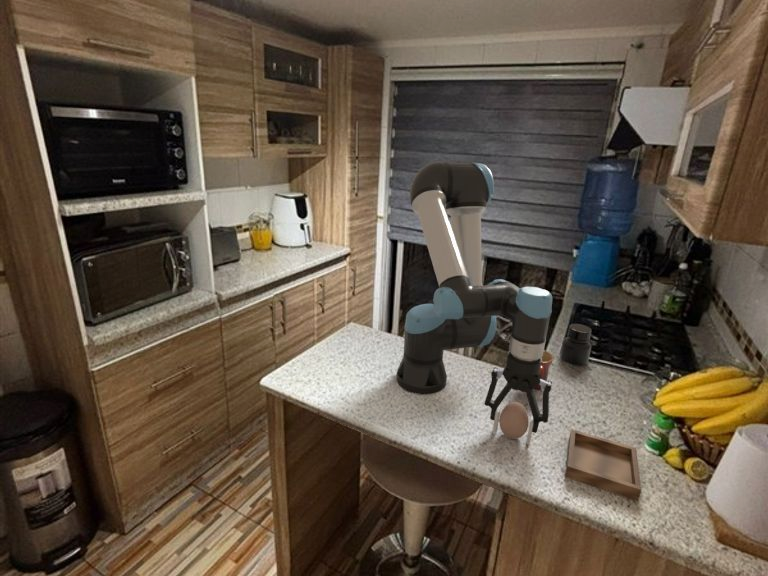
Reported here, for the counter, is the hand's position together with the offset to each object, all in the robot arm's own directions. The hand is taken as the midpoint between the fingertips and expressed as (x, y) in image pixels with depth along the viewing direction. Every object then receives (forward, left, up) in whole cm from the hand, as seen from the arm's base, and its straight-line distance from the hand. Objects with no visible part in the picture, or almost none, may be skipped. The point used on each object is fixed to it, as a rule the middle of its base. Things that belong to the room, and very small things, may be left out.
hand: (511, 435), depth 103 cm
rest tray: (+20, -1, 0) cm, 20 cm away
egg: (0, 0, -1) cm, 1 cm away
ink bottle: (+12, +51, -1) cm, 52 cm away
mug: (+2, +26, -1) cm, 26 cm away
